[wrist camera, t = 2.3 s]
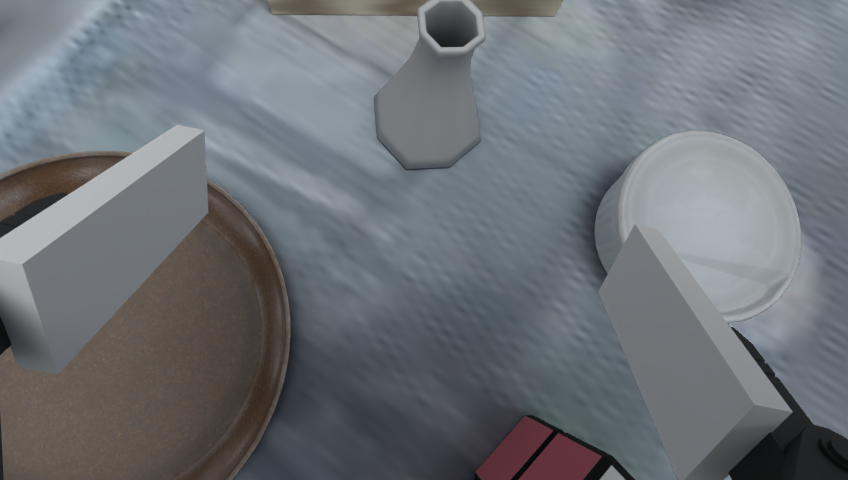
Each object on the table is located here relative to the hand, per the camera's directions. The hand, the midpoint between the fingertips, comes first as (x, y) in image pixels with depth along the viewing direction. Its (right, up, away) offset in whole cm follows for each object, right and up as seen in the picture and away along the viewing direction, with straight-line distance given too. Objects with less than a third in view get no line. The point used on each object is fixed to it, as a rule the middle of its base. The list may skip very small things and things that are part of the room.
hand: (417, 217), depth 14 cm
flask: (0, +7, +17) cm, 18 cm away
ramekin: (+16, -1, +17) cm, 23 cm away
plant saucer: (-17, -6, +12) cm, 22 cm away
